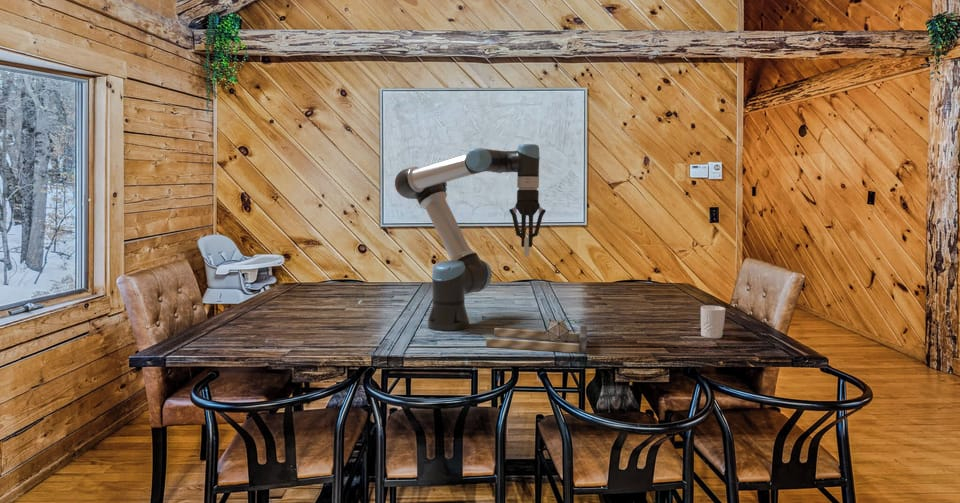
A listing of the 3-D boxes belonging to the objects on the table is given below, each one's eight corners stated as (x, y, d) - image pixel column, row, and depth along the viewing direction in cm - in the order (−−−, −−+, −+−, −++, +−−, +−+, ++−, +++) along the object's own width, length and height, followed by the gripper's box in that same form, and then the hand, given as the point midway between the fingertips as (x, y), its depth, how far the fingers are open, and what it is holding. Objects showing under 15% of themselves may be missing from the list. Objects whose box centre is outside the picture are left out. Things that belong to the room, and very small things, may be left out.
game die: (559, 353, 184) (574, 327, 187) (563, 351, 176) (579, 324, 178) (536, 338, 185) (551, 313, 188) (539, 336, 177) (555, 309, 179)
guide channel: (486, 346, 178) (486, 331, 177) (495, 334, 192) (495, 320, 192) (585, 353, 171) (585, 337, 171) (586, 340, 186) (587, 326, 185)
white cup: (722, 334, 196) (724, 306, 195) (724, 339, 189) (726, 310, 188) (698, 332, 199) (700, 304, 198) (699, 337, 192) (701, 309, 190)
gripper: (507, 188, 193) (506, 256, 196) (545, 189, 190) (544, 258, 193) (511, 189, 200) (510, 254, 203) (547, 189, 198) (546, 255, 200)
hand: (526, 256), depth 198 cm, fingers closed
